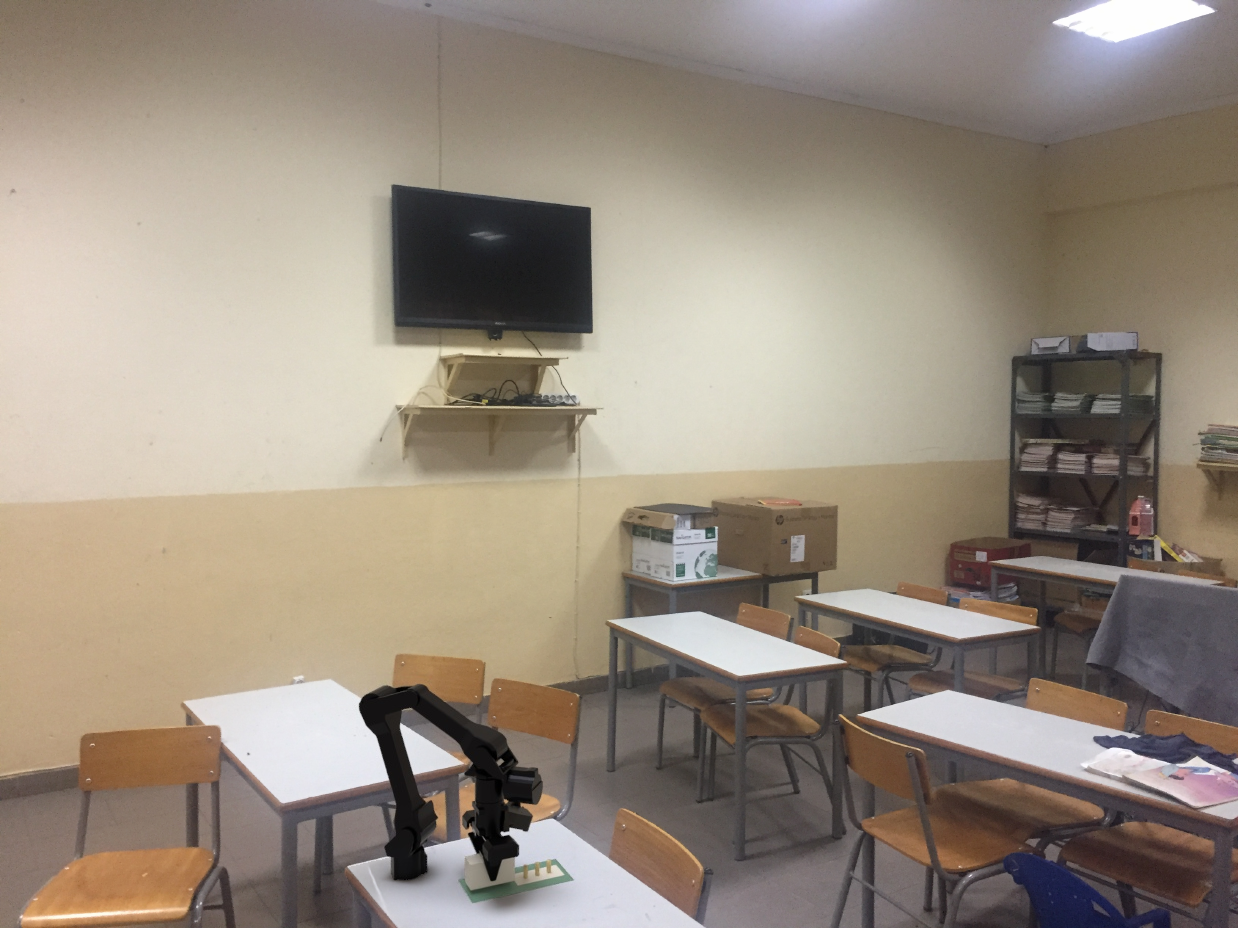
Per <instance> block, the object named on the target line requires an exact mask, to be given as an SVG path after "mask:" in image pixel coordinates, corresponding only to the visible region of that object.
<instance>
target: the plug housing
mask: <svg viewBox="0 0 1238 928" xmlns="http://www.w3.org/2000/svg"><path fill="white" fill-rule="evenodd" d="M515 859H516V857H514V858H509V859H504V860H502V862H501V865H500V869H499V872H498V875H497V879H496V880H495V881H490V879H489V876H488V873H487V871H486V868H485V865H484V863H483V860H482V857H481V855H480V853H479V854H476V853H475V854H470V855H464V878H465V882H466V884H467V885H468V887H469V889H470V890H475V889H479V888H484V887H488V886H493V885H497V884H502V883H507V882H511V881H515V867H516V860H515Z"/></svg>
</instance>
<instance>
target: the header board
mask: <svg viewBox="0 0 1238 928" xmlns="http://www.w3.org/2000/svg"><path fill="white" fill-rule="evenodd" d="M457 880H458V882H459V884H460V885H461V887H462V888H463V891H464V892H465V893H466V896H467V897H468V898H469V900H470V902H471V904H475V903H480V902H484V901H490V900H492V899H497V898H502V897H506V896H507V897H508V896H511V895H515V894H520V893H524V892H527V891H532V890H536V889H541V888H545V887H550V886H551V887H552V886H554V885H559V884H563V883H568V882H572V881H574V880H575V879H574V878H573V877H572V876H571V874H570V873H569V872H568V871H567V870H566V869H565V868H564V867H563V865H562V864H561V863H560V862H559V860H558V859H557V858H554V859H547V860H543V861H540V862H539V861H535V862H534V863H530V864H523V865H522V866H515V881H511V882H507V883H502V884H497V885H493V886H488V887H484V888H479V889H475V890H470V889H469V887H468V885H467V884H466V882H465V877H464V878H461V879H457Z"/></svg>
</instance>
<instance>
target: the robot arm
mask: <svg viewBox="0 0 1238 928" xmlns="http://www.w3.org/2000/svg"><path fill="white" fill-rule="evenodd" d="M409 709H410V710H411V709H412V710H413V711H414V712H416V713H417V714H418V715H420V716H421V717H423V718H424V719H425V720H427V721H428V722H429V723H431V724H432V725H433V726H435V727H436V728H438V729H439V730H441V732H442V733H444V734H446V735H447V736H448V737H450V738H451V739H453V740H454V741H455V742H456V743H457V744H458V746H460V748H461V750H462V753H463V755H464V756H465V757H466V758H467V759H468V760H469V761H470V762H471V765H470V767H469V768H468V769H467V770H466V771H465V772H463V775H464V776H465V777H473V778H474V800H472V801H471V807H472V808H473V809H470V810H465V812H464V813H463V815H462V817H461V819H462V820H461V825H462V827H463V828H464V830H465V831H466V830H469V829H470V828H471V831H470V832H467V836H468V838H469V840H470V842H471V845H472V847H473V849H474V852H475V854H479V853H480V855H481V857H482V860H483V863H484V865H485V868H486V871H487V873H488V876H489V879H490V881H495V880H496V879H497V875H498V872H499V869H500V865H501V862H502V860H504V859H509V858H514V857H515V858H517V857H519V856H520V844H518V842H517V841H516V840H515V838H514V837H513V836H511V835H510V834H506V835H502V833H508V832H510V829H513V830H514V829H515V830H520V831H522V832H524V833H525V832H526V833H527V832H529V830H530V827H531V824H532V821H533V818H534V815H533V814H532V812H530V810H529V809H528V808H526V807H524V806H522V804H523V805H533V806H537V805H538V804H539V802H540V800H541V798H542V795H543V790H544V789H543V788H544V781H543V780H542V776H541V774H540V773H539V768H538V767H533V766H531V767H523V766H518V765H519V763H520V761H519V760H518V759H517V757H516V755H515V754H514V752H513V751H512V749H511V748H510V747H509V745H508V744H509V743H508V739H507V737H506V736H505V734H504V733H502V732H500V731H498V730H496V729H494V728H492V727H490V726H488V725H485V724H480V723H476V722H474V721H473V720H471V719H469V718H468V717H466V715H464V714H462V713H461V712H460V711H458V710H457V709H456V708H454V707H453V706H451V705H450V704H449V703H447V702H446V701H444V700H443V699H442V698H440V697H439V696H438V695H436V694H435V693H433V692H432V691H431V690H430V688H429V687H428V686H427V685H425V684H423V683H417V684H414V685H402V686H397V687H393V686H391V685H387V684H386V685H382V686H380V687H378V688H376V689H374V690H372V691H369V692H367V693H366V694H364V695H363V696H362V697H361V699H360V701H359V702H358V711H359V713H360V714H359V715H360V716H361V718H362V720H363V722H364V725H365V726H366V727H367V728H368V729H369V730H370V732H371V733H372V734H373V735H375V737H376V741H377V743H378V746H379V750H380V753H381V757H382V761H383V764H384V767H385V770H386V775H387V778H388V781H389V786H390V789H391V793H392V796H393V800H394V803H395V810H394V819H393V826H394V832H395V833H394V834H395V836H393V837H392V839H390V840H389V841H388V842H387V843H386V844H385V845H384V848H383V849H384V851H385V854H386V857H389V858H390V875H391V877H392V878H393V880H394V881H398V880H399V881H411V880H412V881H413V880H415V879H417V878H419V877H421V876H423V875H425V874H427V873H428V854H427V852H426V851H425V847H424V846H423V845H424V844H425V843H427V842H428V841H429V838H430V837H431V836H432V835H433V834H434V832H435V831H436V828H437V820H438V819H439V816H438V815H437V813H436V811H435V805H434V802H433V800H431V799H430V800H428V801H426V800H425V799H424V798H423V797H422V796H421V794H420V792H419V789H418V787H417V782H416V779H415V775H414V772H413V769H412V764H411V762H410V758H409V755H408V751H407V748H406V744H405V740H404V737H403V733H402V730H401V722H402V716H403V715H402V714H403V710H409ZM500 760H502V761H503V762H501V763H500V764H498V762H499V761H500ZM505 800H506V801H507V802H505Z"/></svg>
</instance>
